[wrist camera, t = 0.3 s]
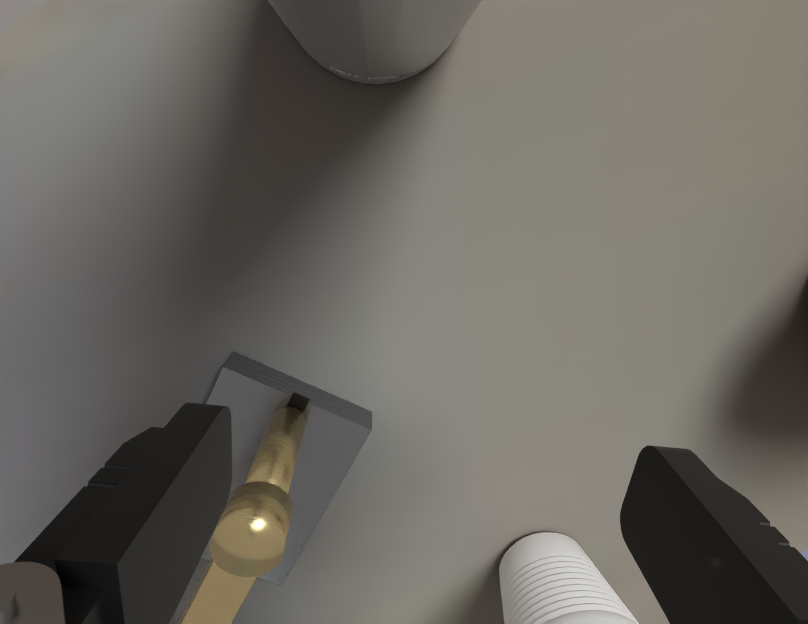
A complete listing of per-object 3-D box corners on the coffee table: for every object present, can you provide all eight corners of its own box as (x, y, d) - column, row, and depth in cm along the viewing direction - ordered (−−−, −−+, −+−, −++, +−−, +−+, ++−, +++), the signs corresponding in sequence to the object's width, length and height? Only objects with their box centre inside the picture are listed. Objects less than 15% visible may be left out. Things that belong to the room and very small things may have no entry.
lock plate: (235, 347, 27) (224, 363, 25) (374, 408, 29) (373, 427, 27) (158, 515, 31) (143, 540, 29) (286, 560, 33) (281, 586, 31)
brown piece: (275, 392, 26) (225, 510, 18) (321, 412, 27) (295, 535, 18) (192, 558, 29) (116, 724, 21) (235, 572, 30) (178, 740, 21)
